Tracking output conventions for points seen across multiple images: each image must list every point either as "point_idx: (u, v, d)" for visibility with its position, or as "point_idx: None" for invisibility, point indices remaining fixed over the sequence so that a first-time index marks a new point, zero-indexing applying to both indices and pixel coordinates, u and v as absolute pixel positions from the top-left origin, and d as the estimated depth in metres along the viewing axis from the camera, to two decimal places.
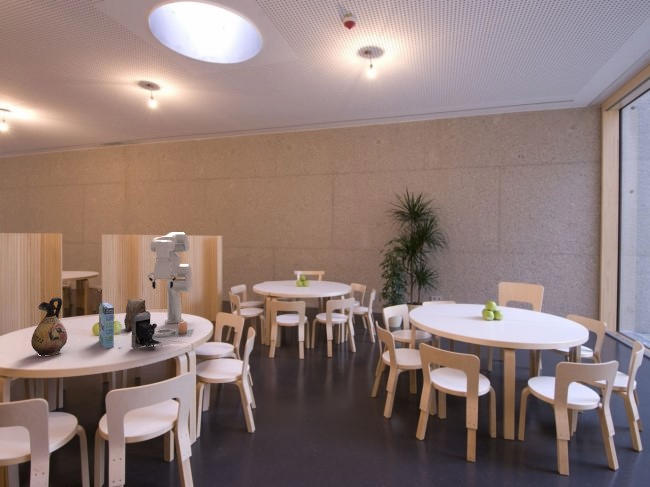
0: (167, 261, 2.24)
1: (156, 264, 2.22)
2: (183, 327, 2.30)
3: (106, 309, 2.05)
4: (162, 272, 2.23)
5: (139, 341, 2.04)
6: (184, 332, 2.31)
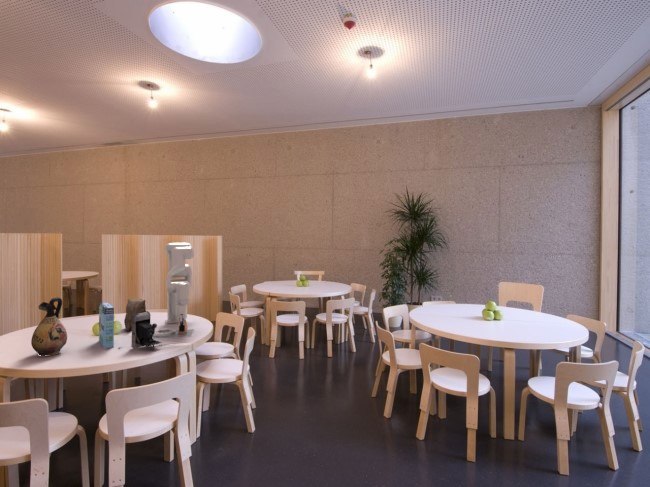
0: None
1: (185, 306, 2.30)
2: None
3: (106, 309, 2.05)
4: (186, 313, 2.33)
5: (139, 341, 2.04)
6: (184, 332, 2.31)
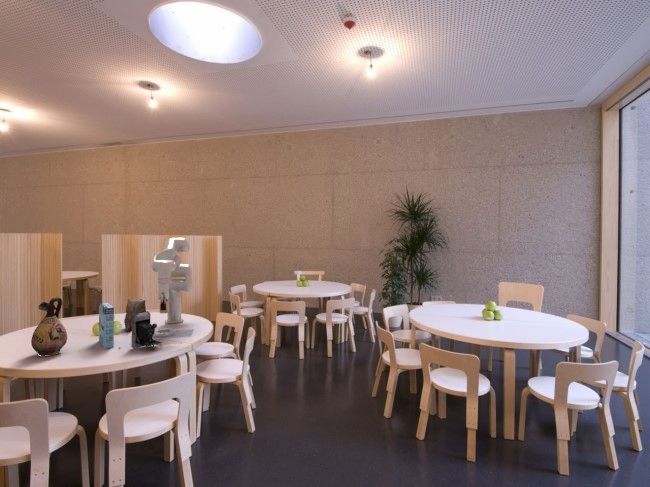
0: None
1: (167, 284, 2.27)
2: None
3: (106, 309, 2.05)
4: (168, 292, 2.30)
5: (139, 341, 2.04)
6: (165, 311, 2.28)
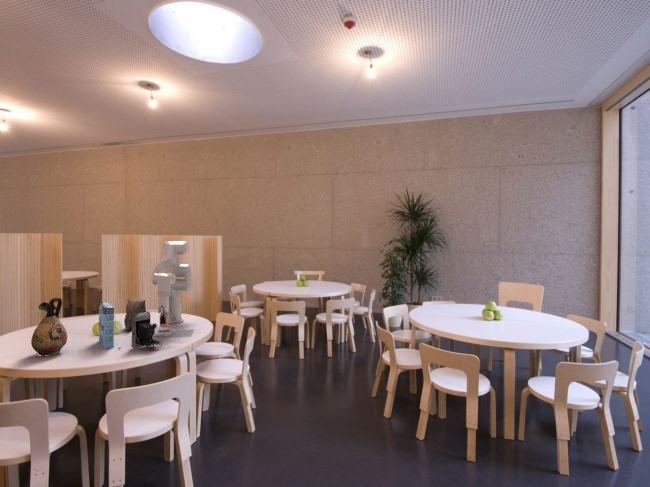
0: None
1: (166, 298, 2.27)
2: None
3: (106, 309, 2.05)
4: (167, 305, 2.30)
5: (139, 341, 2.04)
6: (165, 324, 2.28)
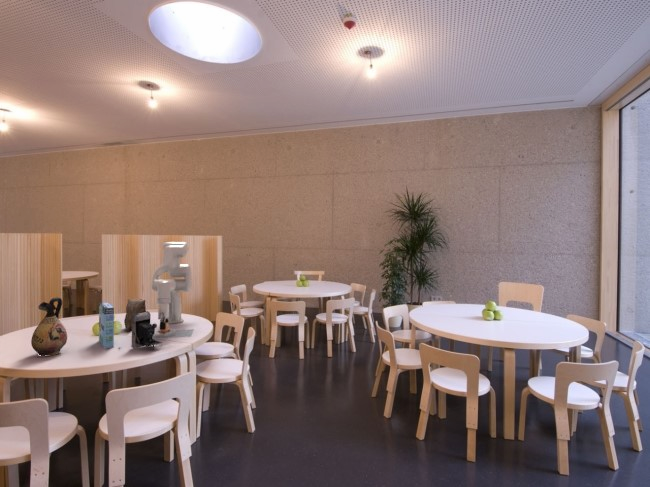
0: None
1: (166, 304, 2.27)
2: None
3: (106, 309, 2.05)
4: (168, 311, 2.31)
5: (139, 341, 2.04)
6: None
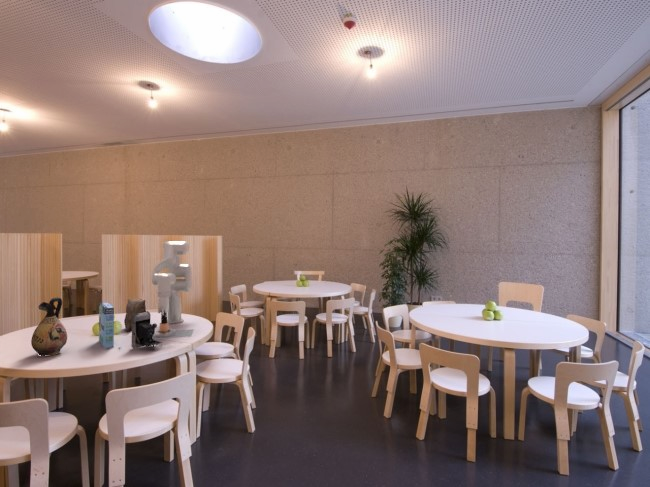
0: None
1: (166, 298, 2.27)
2: (164, 328, 2.27)
3: (106, 309, 2.05)
4: (168, 305, 2.30)
5: (139, 341, 2.04)
6: None
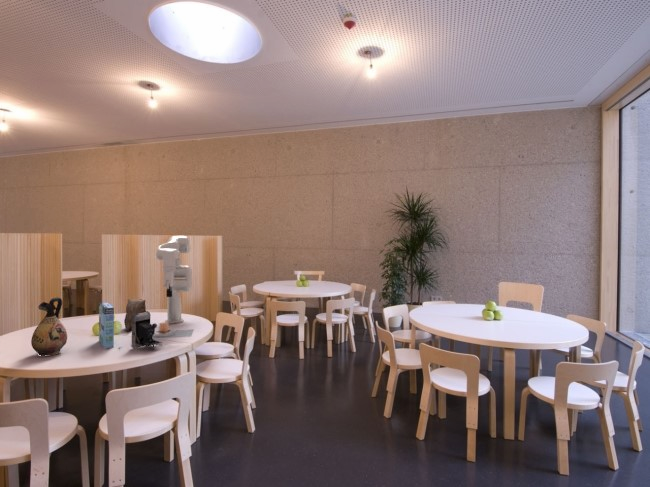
0: None
1: (171, 272, 2.35)
2: (164, 328, 2.27)
3: (106, 309, 2.05)
4: (173, 279, 2.38)
5: (139, 341, 2.04)
6: None
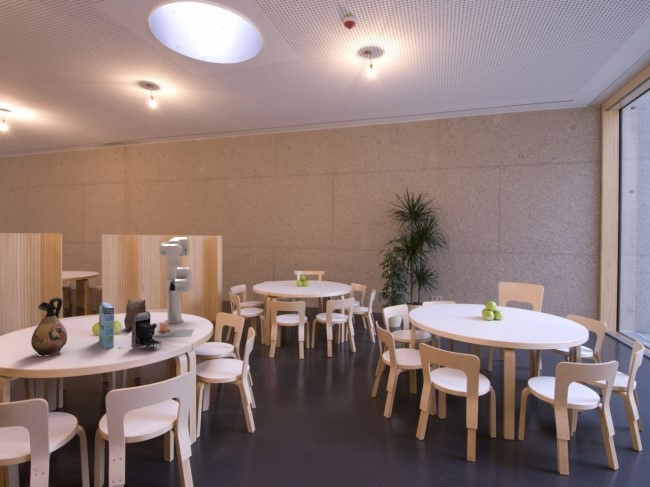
0: None
1: (175, 266, 2.40)
2: (164, 328, 2.27)
3: (106, 309, 2.05)
4: (176, 274, 2.43)
5: (139, 341, 2.04)
6: None
